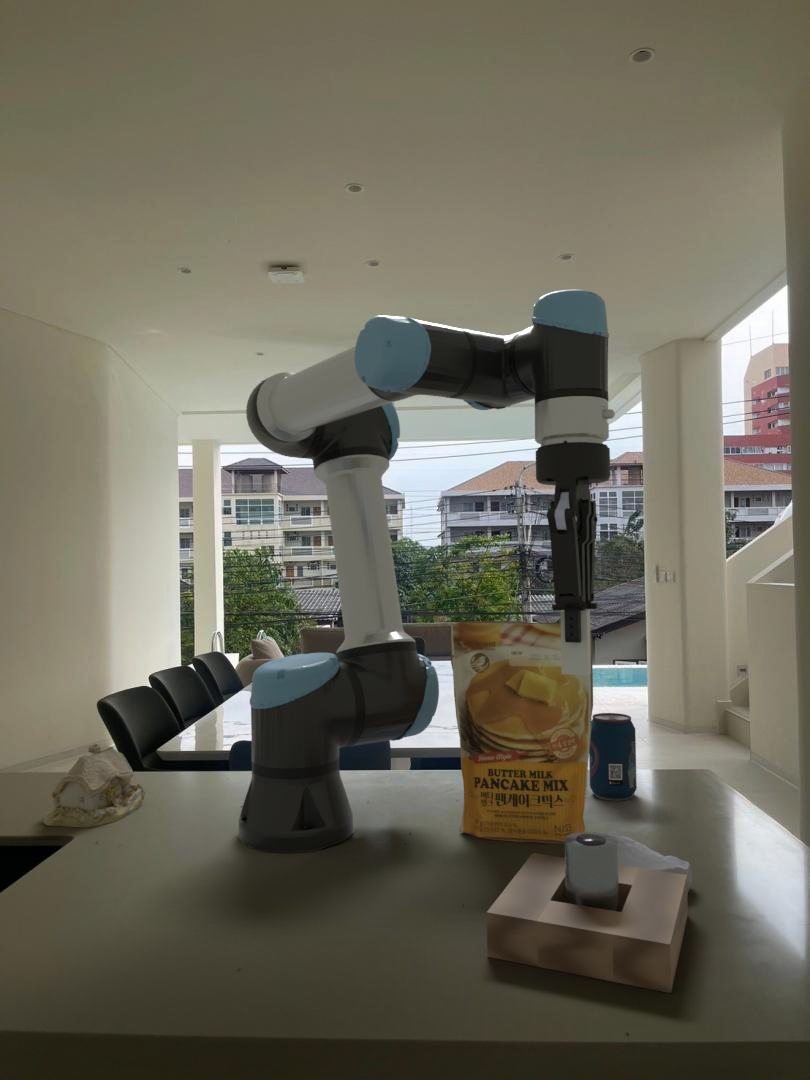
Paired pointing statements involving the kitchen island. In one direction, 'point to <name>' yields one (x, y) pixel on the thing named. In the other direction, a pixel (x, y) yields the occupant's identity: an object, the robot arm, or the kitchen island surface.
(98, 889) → the kitchen island surface
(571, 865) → the cylinder
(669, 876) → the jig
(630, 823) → the kitchen island surface
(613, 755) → the soda can
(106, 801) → the ceramic model
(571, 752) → the pancake mix bag
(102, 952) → the kitchen island surface
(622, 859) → the stone block
